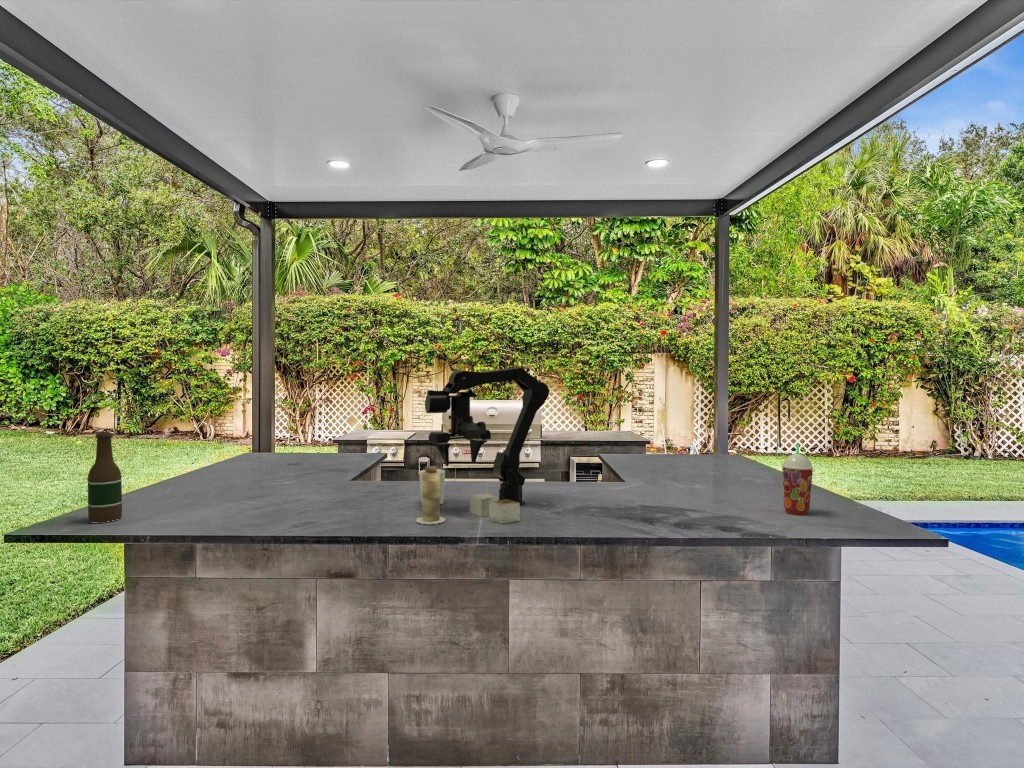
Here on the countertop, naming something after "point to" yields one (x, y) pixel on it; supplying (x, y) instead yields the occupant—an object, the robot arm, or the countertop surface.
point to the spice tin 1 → (481, 503)
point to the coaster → (430, 522)
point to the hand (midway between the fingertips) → (460, 464)
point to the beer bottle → (104, 483)
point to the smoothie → (797, 483)
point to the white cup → (442, 484)
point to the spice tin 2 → (504, 511)
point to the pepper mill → (430, 494)
